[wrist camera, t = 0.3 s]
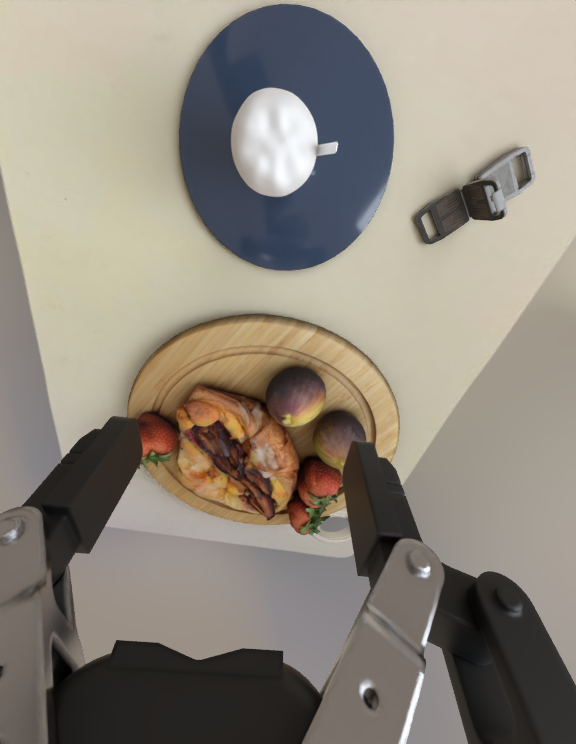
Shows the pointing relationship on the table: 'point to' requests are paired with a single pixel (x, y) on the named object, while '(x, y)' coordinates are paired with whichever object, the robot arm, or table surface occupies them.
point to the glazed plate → (333, 123)
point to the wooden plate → (260, 418)
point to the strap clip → (479, 196)
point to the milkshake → (275, 142)
